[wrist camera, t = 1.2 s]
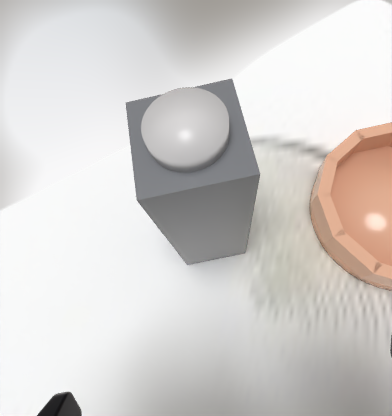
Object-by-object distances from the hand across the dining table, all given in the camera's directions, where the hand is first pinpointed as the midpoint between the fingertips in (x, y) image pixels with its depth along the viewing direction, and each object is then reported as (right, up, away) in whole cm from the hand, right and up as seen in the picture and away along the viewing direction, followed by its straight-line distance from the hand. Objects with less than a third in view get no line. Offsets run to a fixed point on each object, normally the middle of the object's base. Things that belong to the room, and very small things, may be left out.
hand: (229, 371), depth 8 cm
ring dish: (+14, +4, +14) cm, 20 cm away
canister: (0, +3, +15) cm, 16 cm away
